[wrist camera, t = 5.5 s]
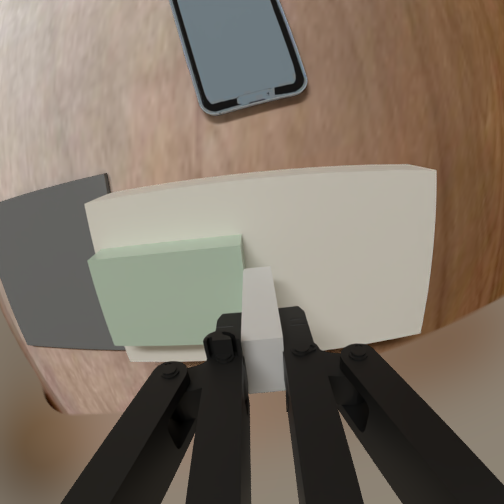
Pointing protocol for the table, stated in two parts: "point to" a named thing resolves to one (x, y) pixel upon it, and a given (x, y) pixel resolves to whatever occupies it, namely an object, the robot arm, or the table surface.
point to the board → (299, 242)
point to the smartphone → (238, 52)
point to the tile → (168, 289)
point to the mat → (53, 266)
